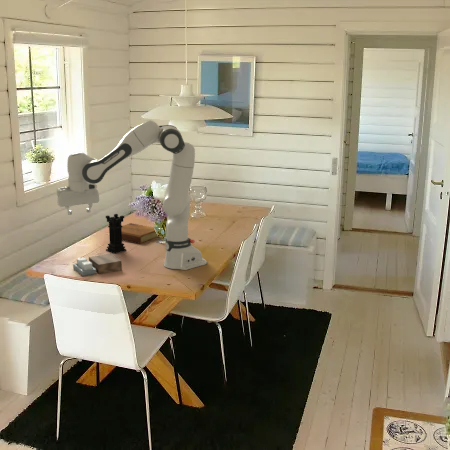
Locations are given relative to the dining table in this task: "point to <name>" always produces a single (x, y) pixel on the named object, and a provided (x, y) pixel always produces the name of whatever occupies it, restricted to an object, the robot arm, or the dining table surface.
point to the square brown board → (106, 263)
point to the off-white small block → (86, 266)
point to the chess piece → (115, 234)
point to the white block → (80, 260)
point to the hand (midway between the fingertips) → (79, 213)
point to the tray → (84, 273)
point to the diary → (138, 233)
